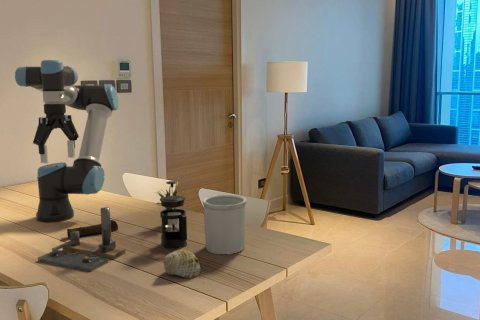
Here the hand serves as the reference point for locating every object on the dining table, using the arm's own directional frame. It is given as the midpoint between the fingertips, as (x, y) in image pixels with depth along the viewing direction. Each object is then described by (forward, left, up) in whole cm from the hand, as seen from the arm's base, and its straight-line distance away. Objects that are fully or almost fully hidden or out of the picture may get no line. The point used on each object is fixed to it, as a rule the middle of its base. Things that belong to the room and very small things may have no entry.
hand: (58, 160), depth 181 cm
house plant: (-24, +32, -29) cm, 49 cm away
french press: (-6, +46, -29) cm, 55 cm away
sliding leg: (+15, +30, -27) cm, 43 cm away
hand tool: (-5, +10, -29) cm, 31 cm away
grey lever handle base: (+15, +24, -29) cm, 40 cm away
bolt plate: (+21, +24, -29) cm, 43 cm away
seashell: (+15, +61, -29) cm, 70 cm away
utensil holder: (-10, +64, -29) cm, 71 cm away
